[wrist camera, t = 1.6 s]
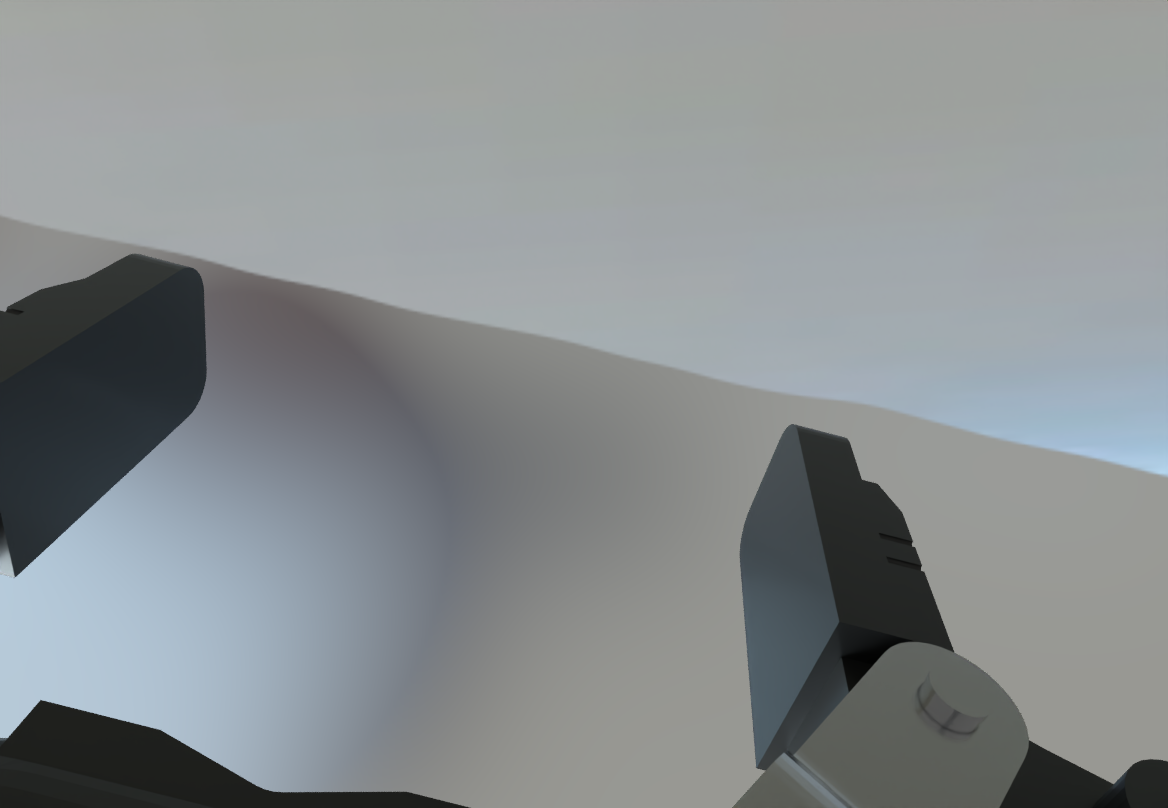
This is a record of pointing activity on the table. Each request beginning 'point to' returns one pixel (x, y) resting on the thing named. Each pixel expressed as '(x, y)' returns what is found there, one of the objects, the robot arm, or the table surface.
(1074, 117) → the table surface
